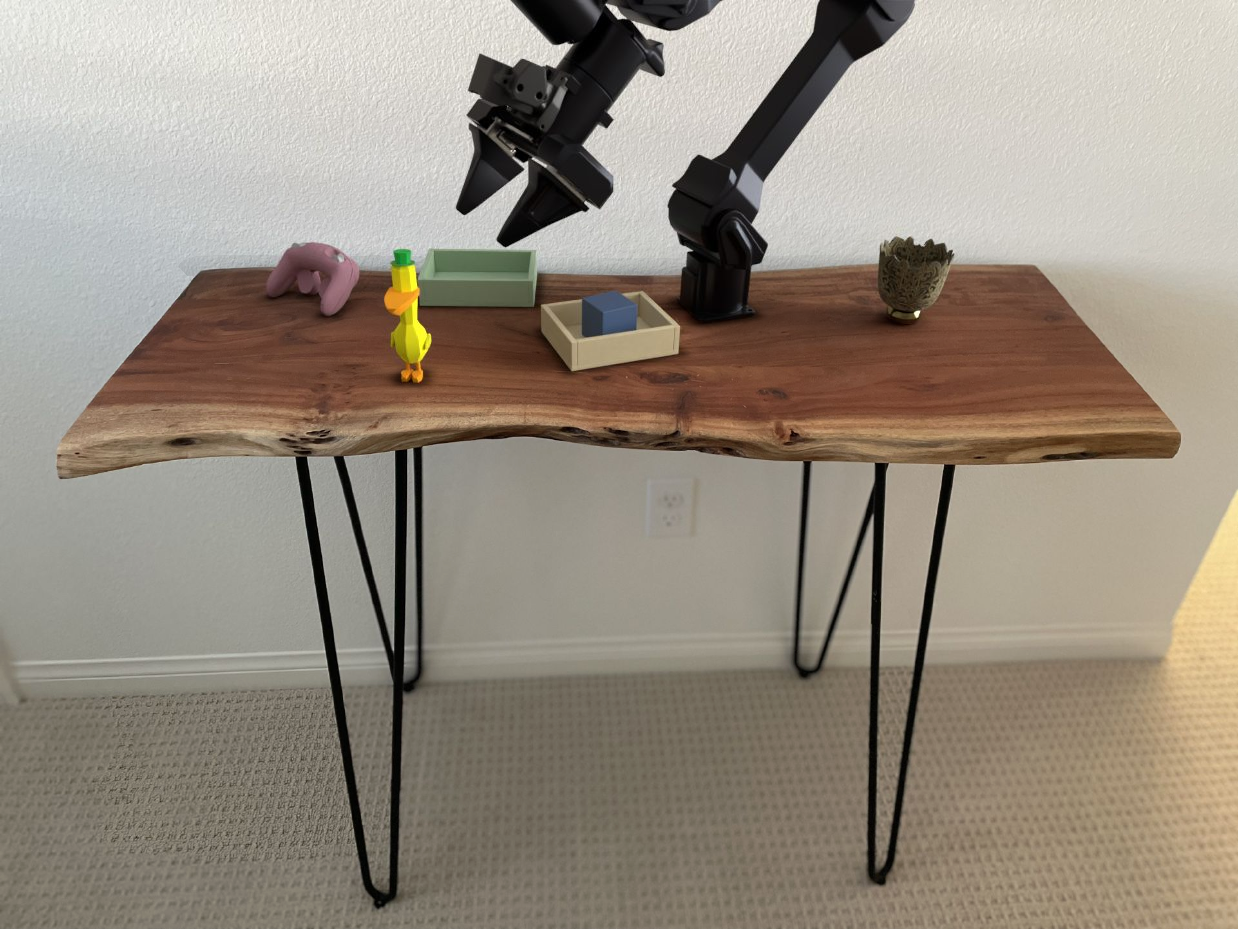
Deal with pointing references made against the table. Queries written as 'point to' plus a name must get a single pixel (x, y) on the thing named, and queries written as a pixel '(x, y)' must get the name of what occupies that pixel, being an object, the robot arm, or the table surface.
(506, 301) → the green tray
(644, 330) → the beige tray
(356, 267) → the video game controller
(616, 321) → the slate block
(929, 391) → the table surface
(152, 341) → the table surface
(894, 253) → the cup
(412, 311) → the toy figure
